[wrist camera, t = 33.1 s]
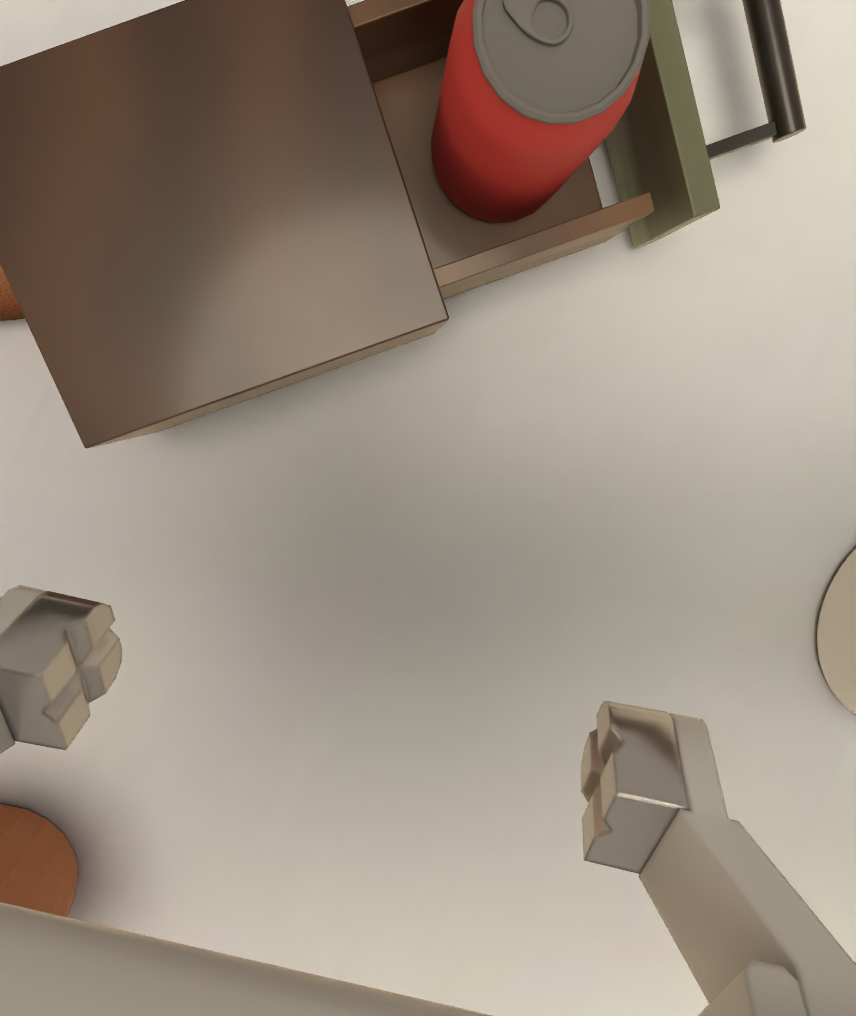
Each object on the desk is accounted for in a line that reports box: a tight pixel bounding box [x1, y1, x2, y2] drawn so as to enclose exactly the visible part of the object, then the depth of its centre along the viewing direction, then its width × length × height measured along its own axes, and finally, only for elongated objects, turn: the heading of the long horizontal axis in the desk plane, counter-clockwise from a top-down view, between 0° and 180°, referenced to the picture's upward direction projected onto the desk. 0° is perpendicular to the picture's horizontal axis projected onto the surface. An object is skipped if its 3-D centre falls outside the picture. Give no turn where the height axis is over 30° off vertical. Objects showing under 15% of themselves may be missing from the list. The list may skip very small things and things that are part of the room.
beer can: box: [431, 0, 650, 222], centre depth 26 cm, size 7×7×12 cm
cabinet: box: [0, 0, 449, 448], centre depth 30 cm, size 16×14×9 cm
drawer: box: [347, 0, 806, 299], centre depth 30 cm, size 21×13×7 cm, turn 109°
